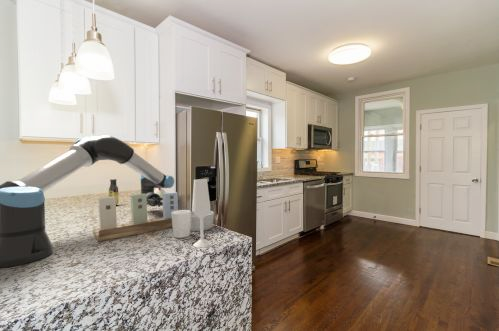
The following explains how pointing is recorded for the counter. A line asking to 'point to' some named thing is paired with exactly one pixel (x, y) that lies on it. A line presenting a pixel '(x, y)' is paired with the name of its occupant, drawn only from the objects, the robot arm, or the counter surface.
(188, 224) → the white cup
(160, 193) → the kitchen timer
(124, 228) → the oak board
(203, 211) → the champagne flute
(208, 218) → the ramekin
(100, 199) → the tile
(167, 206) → the tile
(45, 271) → the counter surface
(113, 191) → the sauce bottle
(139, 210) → the tile
